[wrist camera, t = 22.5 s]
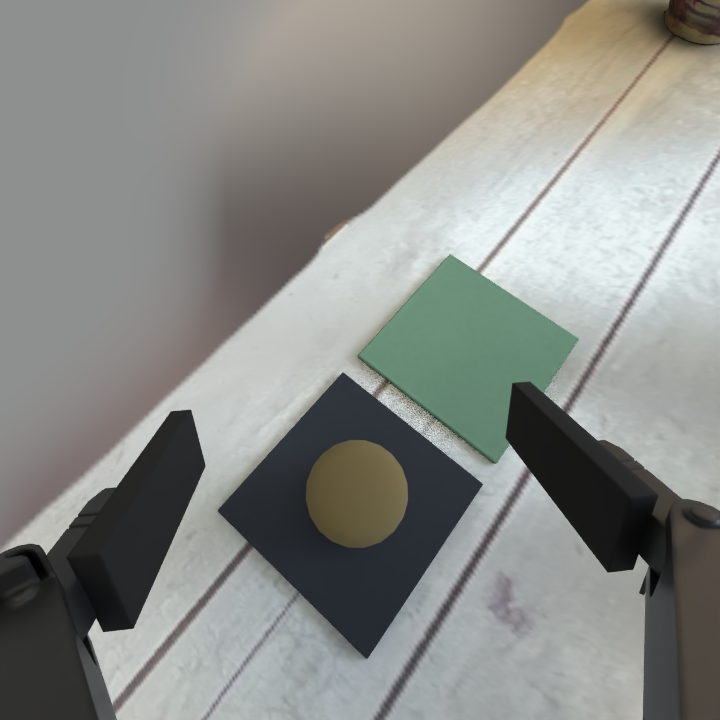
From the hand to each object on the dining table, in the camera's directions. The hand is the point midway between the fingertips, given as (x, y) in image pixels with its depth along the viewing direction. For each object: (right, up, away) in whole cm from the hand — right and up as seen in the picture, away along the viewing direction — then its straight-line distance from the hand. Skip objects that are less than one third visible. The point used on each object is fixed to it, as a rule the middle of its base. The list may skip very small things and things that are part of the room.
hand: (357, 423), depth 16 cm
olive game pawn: (0, -8, +12) cm, 15 cm away
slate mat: (0, -8, +13) cm, 15 cm away
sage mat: (+10, +4, +18) cm, 21 cm away
